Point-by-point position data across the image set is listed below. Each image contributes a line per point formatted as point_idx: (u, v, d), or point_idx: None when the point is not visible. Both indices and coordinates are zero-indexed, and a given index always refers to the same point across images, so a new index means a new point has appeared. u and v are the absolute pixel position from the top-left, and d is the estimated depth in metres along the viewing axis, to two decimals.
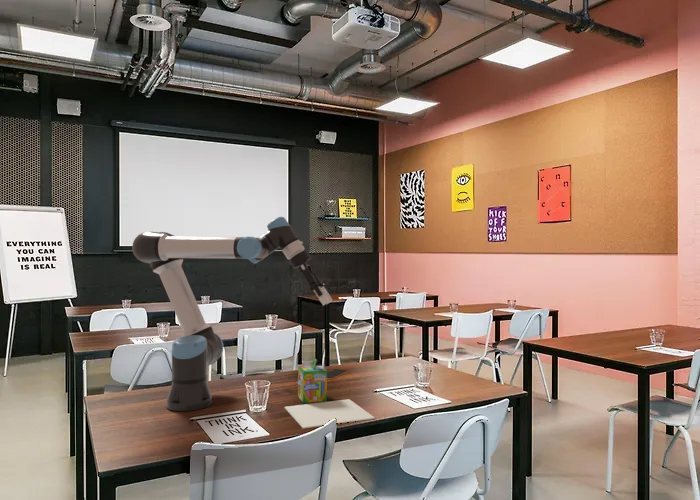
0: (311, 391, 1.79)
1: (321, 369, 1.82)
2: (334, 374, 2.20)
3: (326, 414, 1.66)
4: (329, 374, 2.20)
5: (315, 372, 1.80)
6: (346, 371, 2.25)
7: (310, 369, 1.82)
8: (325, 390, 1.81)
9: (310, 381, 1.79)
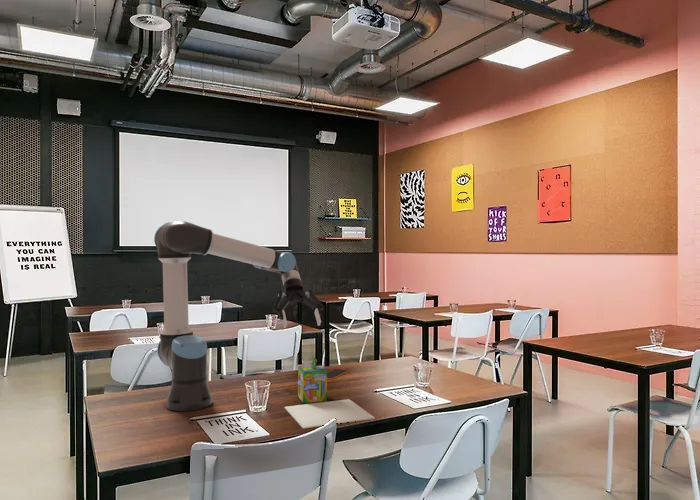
0: (311, 391, 1.79)
1: (321, 369, 1.82)
2: (334, 374, 2.20)
3: (326, 414, 1.66)
4: (329, 374, 2.20)
5: (315, 372, 1.80)
6: (346, 371, 2.25)
7: (310, 369, 1.82)
8: (325, 390, 1.81)
9: (310, 381, 1.79)
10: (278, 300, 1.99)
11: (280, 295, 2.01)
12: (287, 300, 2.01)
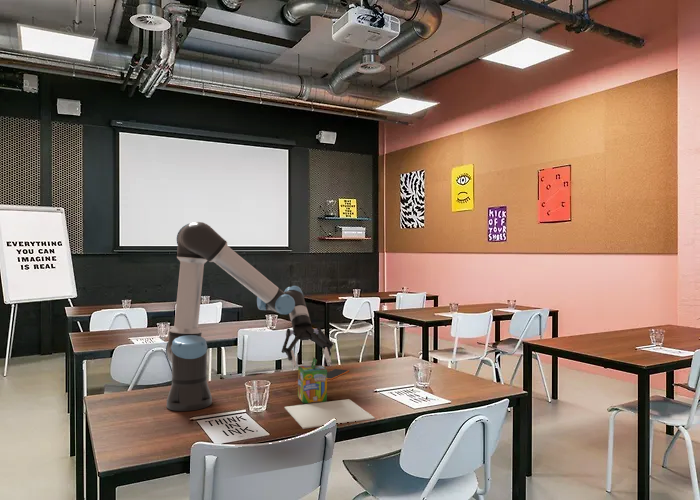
0: (311, 391, 1.79)
1: (321, 369, 1.82)
2: (334, 374, 2.20)
3: (326, 414, 1.66)
4: (329, 374, 2.20)
5: (315, 372, 1.80)
6: (346, 371, 2.25)
7: (310, 369, 1.82)
8: (325, 390, 1.81)
9: (310, 381, 1.79)
10: (286, 339, 1.93)
11: (288, 333, 1.95)
12: (296, 339, 1.94)
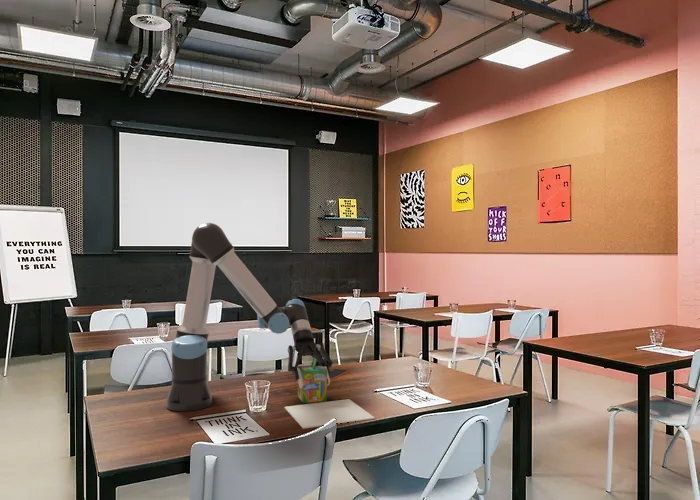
0: (311, 391, 1.79)
1: (321, 369, 1.82)
2: (334, 374, 2.20)
3: (326, 414, 1.66)
4: None
5: (315, 372, 1.80)
6: (346, 371, 2.25)
7: (310, 369, 1.82)
8: (325, 390, 1.81)
9: (310, 381, 1.79)
10: (291, 356, 1.85)
11: (291, 350, 1.88)
12: (300, 355, 1.87)
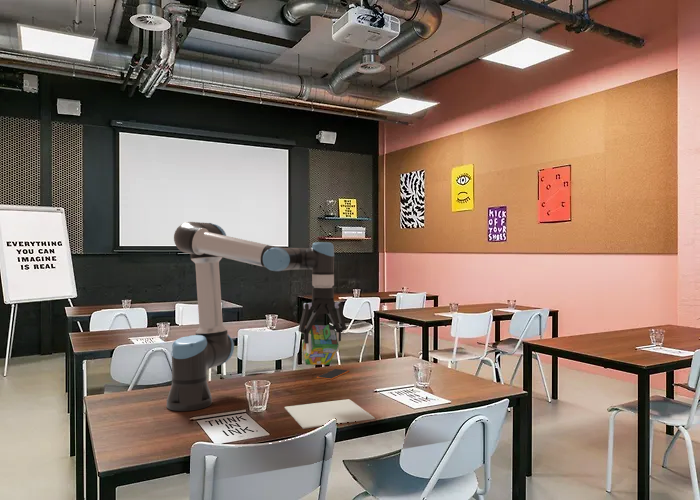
0: (317, 358, 1.74)
1: (332, 342, 1.72)
2: (334, 374, 2.20)
3: (326, 414, 1.66)
4: (329, 374, 2.20)
5: (325, 347, 1.70)
6: (346, 371, 2.25)
7: (321, 340, 1.71)
8: (331, 358, 1.76)
9: (318, 352, 1.72)
10: (305, 318, 1.71)
11: (307, 310, 1.71)
12: (314, 317, 1.72)
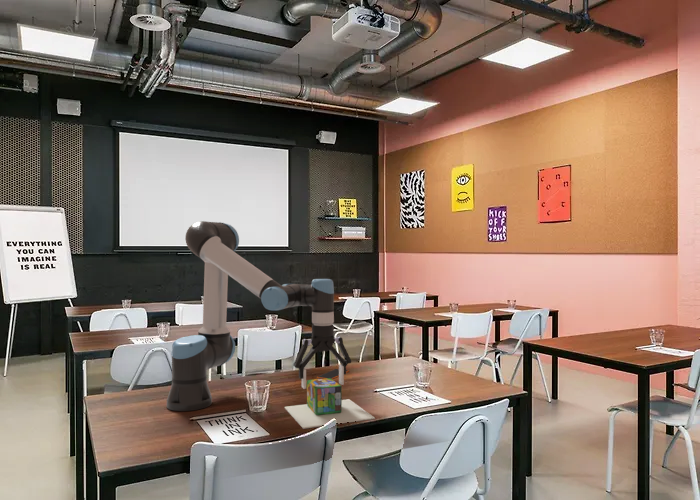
0: None
1: (336, 408, 1.66)
2: (334, 374, 2.20)
3: (326, 414, 1.66)
4: (329, 374, 2.20)
5: (328, 413, 1.66)
6: (346, 371, 2.25)
7: (325, 407, 1.65)
8: None
9: None
10: (302, 354, 1.69)
11: (305, 346, 1.70)
12: (312, 354, 1.71)
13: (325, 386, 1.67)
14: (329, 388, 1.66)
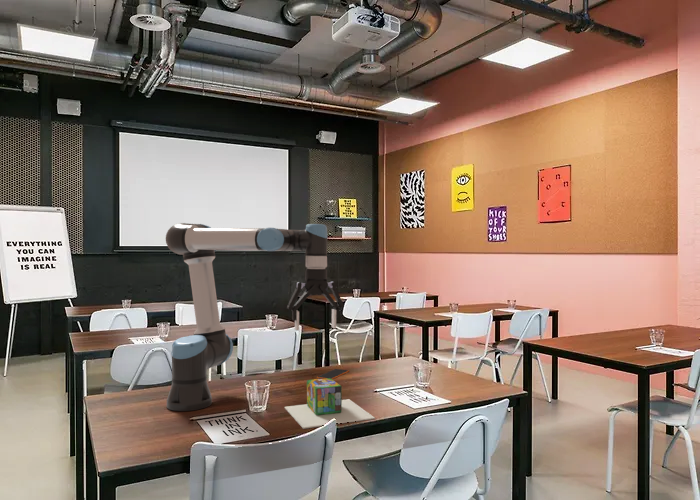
0: None
1: (336, 408, 1.66)
2: (334, 374, 2.20)
3: (326, 414, 1.66)
4: (329, 374, 2.20)
5: (328, 413, 1.66)
6: (346, 371, 2.25)
7: (325, 407, 1.65)
8: None
9: None
10: (295, 296, 1.73)
11: (299, 289, 1.73)
12: (305, 297, 1.74)
13: (325, 386, 1.67)
14: (329, 388, 1.66)
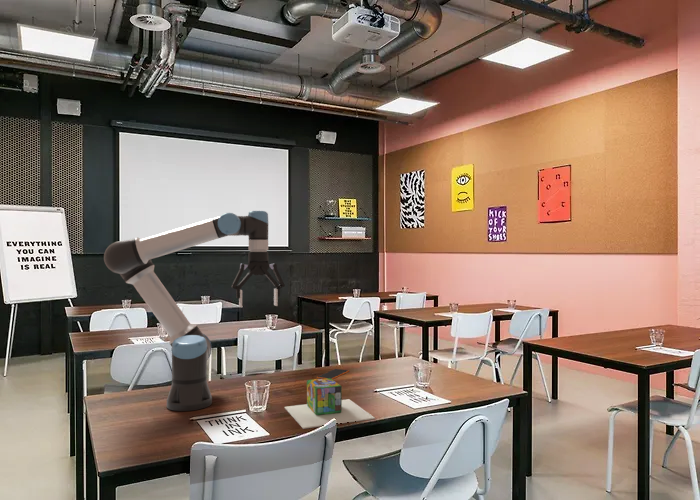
0: None
1: (336, 408, 1.66)
2: (334, 374, 2.20)
3: (326, 414, 1.66)
4: (329, 374, 2.20)
5: (328, 413, 1.66)
6: (346, 371, 2.25)
7: (325, 407, 1.65)
8: None
9: None
10: (238, 276, 1.91)
11: (242, 270, 1.91)
12: (248, 277, 1.92)
13: (325, 386, 1.67)
14: (329, 388, 1.66)
